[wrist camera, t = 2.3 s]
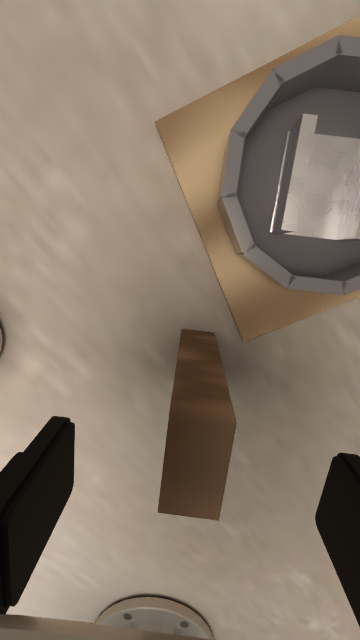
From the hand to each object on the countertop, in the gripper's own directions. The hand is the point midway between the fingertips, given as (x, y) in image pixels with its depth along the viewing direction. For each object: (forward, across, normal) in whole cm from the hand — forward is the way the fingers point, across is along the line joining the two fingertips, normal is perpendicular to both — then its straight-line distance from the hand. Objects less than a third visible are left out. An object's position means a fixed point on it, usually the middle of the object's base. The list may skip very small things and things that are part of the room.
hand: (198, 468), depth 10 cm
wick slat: (+13, 0, +1) cm, 13 cm away
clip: (+12, -6, -12) cm, 18 cm away
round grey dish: (+12, -6, -12) cm, 18 cm away
